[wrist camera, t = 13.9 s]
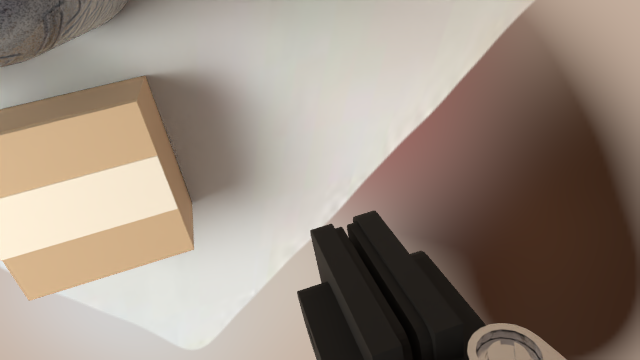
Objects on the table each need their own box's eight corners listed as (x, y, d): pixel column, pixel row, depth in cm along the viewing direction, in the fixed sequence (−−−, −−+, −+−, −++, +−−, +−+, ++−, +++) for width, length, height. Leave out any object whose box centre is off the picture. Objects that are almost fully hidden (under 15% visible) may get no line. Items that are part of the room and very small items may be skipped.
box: (145, 75, 41) (137, 98, 34) (192, 202, 47) (193, 243, 40) (-18, 113, 38) (-62, 146, 32) (55, 241, 45) (32, 292, 38)
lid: (137, 98, 34) (136, 102, 33) (193, 244, 40) (194, 250, 39) (-64, 148, 31) (-71, 153, 30) (31, 294, 38) (28, 302, 37)
